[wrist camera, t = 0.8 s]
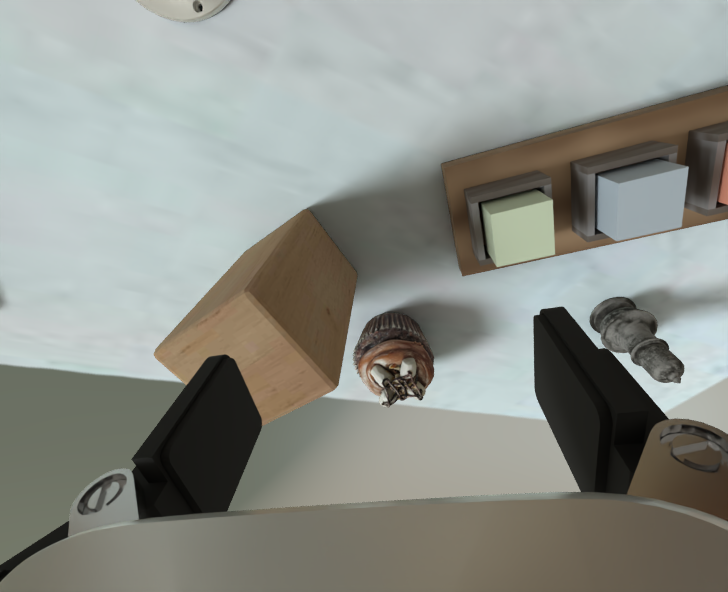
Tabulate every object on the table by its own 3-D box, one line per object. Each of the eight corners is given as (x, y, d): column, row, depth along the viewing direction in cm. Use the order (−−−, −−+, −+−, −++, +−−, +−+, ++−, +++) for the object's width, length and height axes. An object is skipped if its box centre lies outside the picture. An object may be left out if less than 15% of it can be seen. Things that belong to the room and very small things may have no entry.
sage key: (480, 202, 35) (490, 214, 31) (535, 188, 34) (552, 199, 30) (486, 250, 37) (497, 267, 34) (539, 239, 36) (555, 254, 33)
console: (440, 163, 38) (449, 174, 33) (779, 70, 33) (854, 66, 28) (459, 267, 44) (468, 290, 38) (752, 202, 38) (810, 219, 33)
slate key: (594, 174, 33) (618, 183, 30) (656, 158, 32) (688, 166, 29) (594, 226, 35) (616, 241, 32) (651, 213, 34) (681, 227, 31)
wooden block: (359, 274, 45) (340, 390, 27) (296, 312, 48) (242, 438, 30) (307, 206, 41) (247, 288, 24) (243, 252, 44) (147, 355, 27)
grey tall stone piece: (576, 317, 46) (632, 384, 35) (620, 285, 43) (693, 347, 33) (605, 343, 47) (667, 414, 37) (649, 313, 45) (728, 381, 34)
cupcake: (407, 293, 46) (411, 341, 37) (441, 349, 49) (452, 405, 41) (341, 325, 48) (331, 376, 40) (378, 375, 52) (376, 432, 43)
